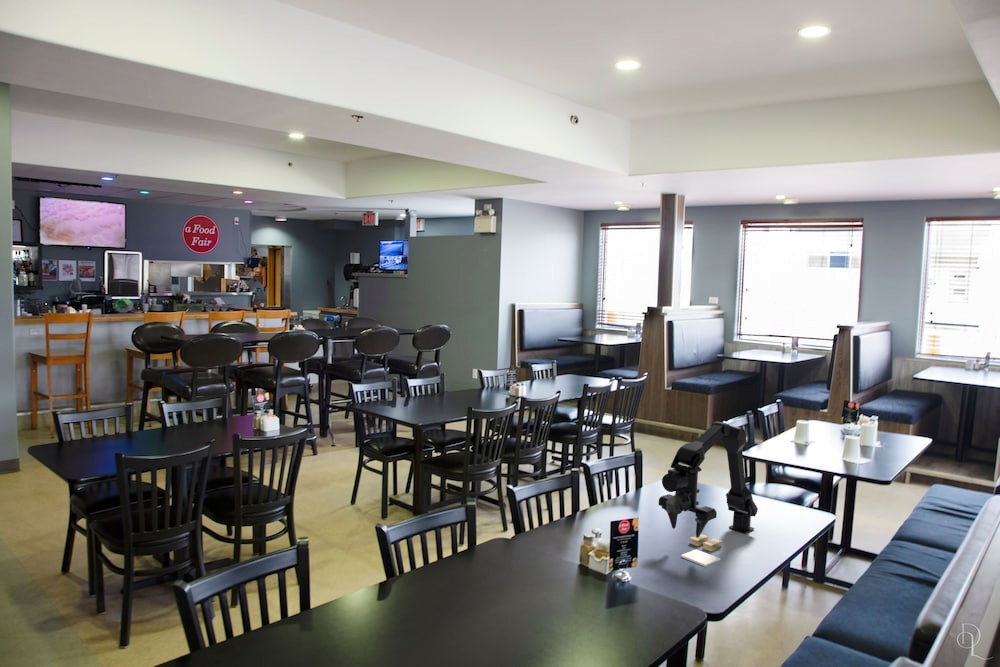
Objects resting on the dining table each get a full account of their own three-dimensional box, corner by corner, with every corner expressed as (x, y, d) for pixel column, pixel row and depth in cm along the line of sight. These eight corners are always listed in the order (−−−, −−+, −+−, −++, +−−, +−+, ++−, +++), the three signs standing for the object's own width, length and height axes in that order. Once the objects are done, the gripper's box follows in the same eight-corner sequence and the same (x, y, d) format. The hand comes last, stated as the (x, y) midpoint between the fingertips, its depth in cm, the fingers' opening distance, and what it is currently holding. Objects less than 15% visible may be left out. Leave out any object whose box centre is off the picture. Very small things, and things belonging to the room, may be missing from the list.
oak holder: (699, 539, 235) (700, 533, 234) (721, 547, 228) (721, 541, 228) (689, 543, 231) (689, 537, 231) (710, 551, 225) (711, 545, 224)
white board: (695, 549, 225) (720, 558, 218) (695, 552, 225) (719, 562, 218) (681, 554, 220) (705, 564, 213) (680, 558, 220) (705, 568, 213)
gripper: (649, 483, 224) (646, 529, 225) (697, 498, 209) (695, 548, 211) (670, 477, 231) (667, 522, 232) (718, 491, 216) (716, 539, 218)
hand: (685, 532), depth 223 cm, fingers open, 9 cm apart
